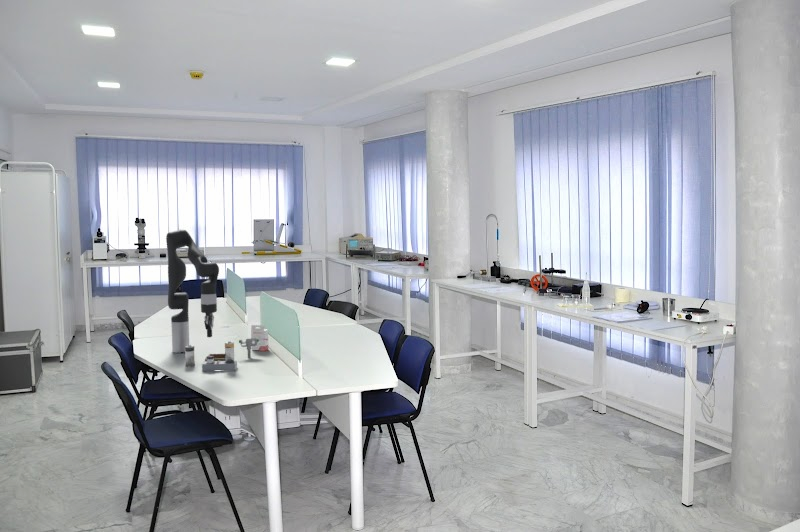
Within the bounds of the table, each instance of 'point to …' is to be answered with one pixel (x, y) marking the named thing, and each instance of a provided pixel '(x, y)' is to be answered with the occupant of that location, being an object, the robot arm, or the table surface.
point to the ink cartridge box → (260, 337)
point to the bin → (217, 357)
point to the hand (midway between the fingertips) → (209, 336)
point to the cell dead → (189, 355)
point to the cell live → (229, 352)
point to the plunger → (210, 359)
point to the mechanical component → (249, 344)
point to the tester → (219, 366)
